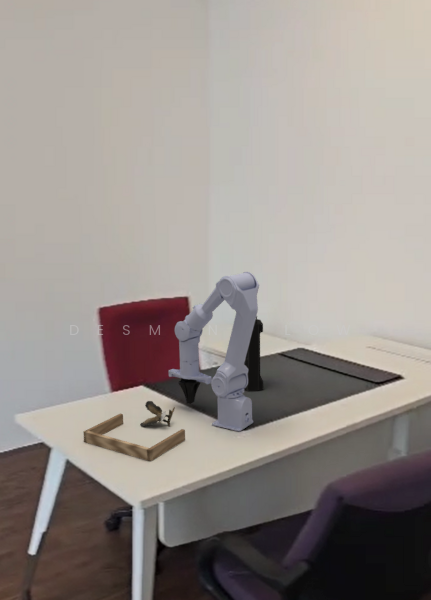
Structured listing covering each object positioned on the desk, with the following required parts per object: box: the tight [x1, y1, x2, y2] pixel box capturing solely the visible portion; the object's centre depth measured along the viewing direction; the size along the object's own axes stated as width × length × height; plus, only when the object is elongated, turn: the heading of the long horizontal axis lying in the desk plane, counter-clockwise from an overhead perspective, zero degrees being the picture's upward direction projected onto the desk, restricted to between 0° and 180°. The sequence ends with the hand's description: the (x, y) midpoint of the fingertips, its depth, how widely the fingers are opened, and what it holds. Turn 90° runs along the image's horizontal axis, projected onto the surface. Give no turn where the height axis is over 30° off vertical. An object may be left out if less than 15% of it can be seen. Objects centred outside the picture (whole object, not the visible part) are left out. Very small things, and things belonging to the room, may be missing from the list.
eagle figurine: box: [140, 400, 176, 427], centre depth 189 cm, size 8×7×9 cm
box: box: [83, 413, 186, 462], centre depth 178 cm, size 23×15×3 cm, turn 57°
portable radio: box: [244, 315, 264, 392], centre depth 217 cm, size 8×6×25 cm
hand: (190, 402), depth 200 cm, fingers closed
